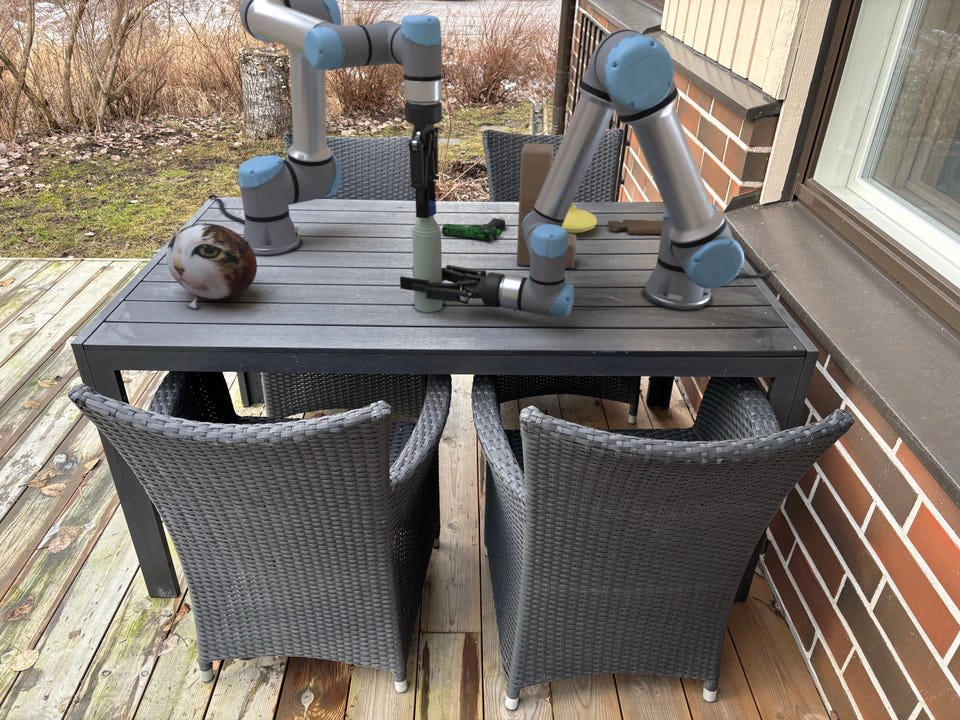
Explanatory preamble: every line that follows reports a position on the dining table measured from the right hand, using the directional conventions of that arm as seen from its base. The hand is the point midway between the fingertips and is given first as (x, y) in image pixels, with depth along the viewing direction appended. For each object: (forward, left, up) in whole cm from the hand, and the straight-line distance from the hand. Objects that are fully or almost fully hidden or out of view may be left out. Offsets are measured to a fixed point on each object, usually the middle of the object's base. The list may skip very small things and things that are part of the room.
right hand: (407, 276), depth 164 cm
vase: (-49, -45, -7) cm, 66 cm away
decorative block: (-37, -21, -7) cm, 43 cm away
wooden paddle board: (-73, -43, -7) cm, 85 cm away
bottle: (-5, +2, -7) cm, 8 cm away
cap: (-5, +2, +18) cm, 18 cm away
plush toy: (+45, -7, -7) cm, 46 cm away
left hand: (-5, +2, +16) cm, 16 cm away
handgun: (-21, -45, -7) cm, 50 cm away
